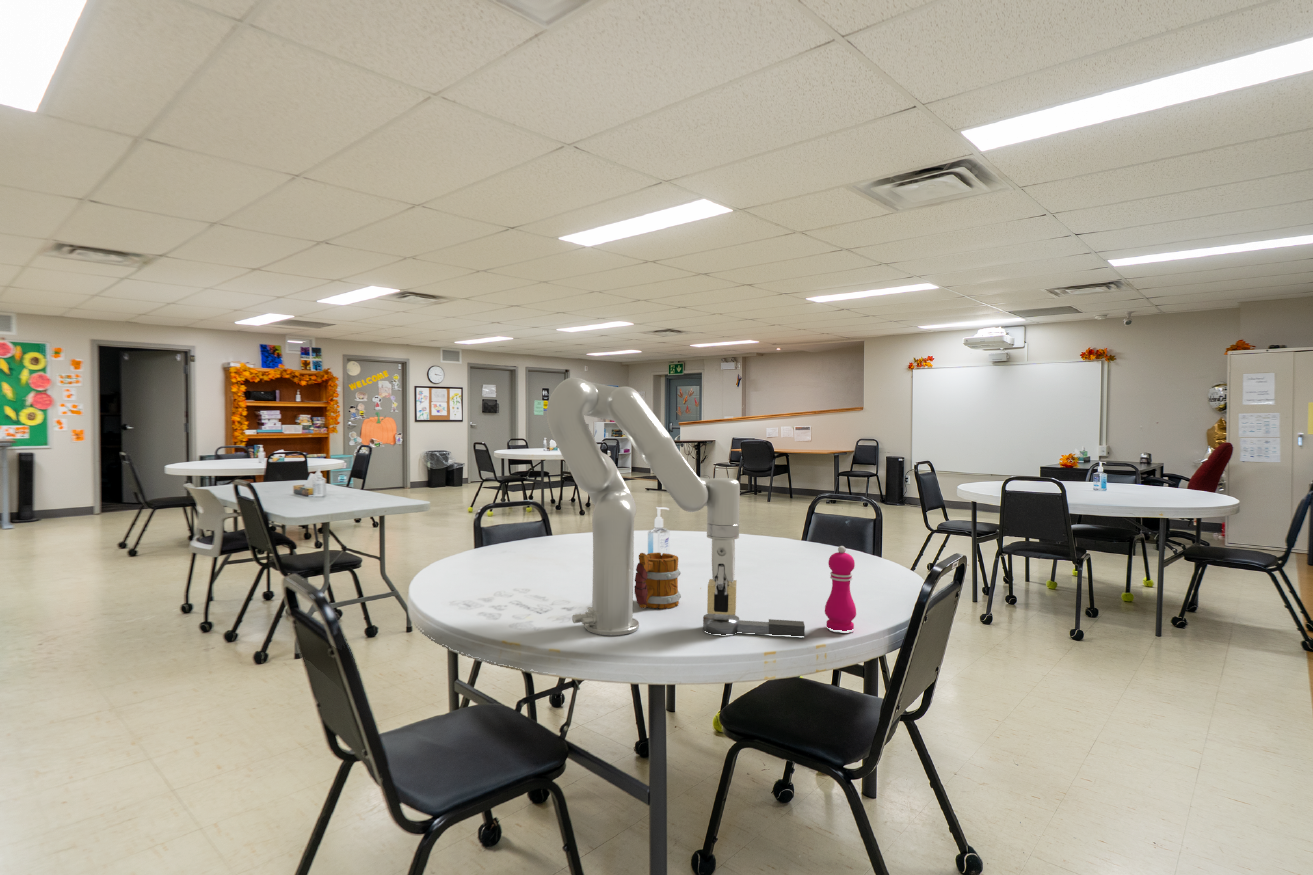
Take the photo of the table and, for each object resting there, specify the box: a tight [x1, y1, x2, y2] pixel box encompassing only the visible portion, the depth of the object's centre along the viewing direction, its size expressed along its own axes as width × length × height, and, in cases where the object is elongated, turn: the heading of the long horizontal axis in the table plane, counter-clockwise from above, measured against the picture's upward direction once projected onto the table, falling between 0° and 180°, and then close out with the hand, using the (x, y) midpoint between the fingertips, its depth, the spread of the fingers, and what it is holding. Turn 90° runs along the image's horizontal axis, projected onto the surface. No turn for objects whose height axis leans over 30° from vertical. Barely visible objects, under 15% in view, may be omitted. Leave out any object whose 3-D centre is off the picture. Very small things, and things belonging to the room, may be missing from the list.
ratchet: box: [702, 613, 806, 637], centre depth 150 cm, size 23×8×8 cm, turn 81°
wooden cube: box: [706, 578, 737, 615], centre depth 151 cm, size 6×6×6 cm
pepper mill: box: [824, 545, 857, 631], centre depth 154 cm, size 7×7×20 cm
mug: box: [633, 552, 682, 610], centre depth 171 cm, size 11×16×15 cm, turn 146°
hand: (721, 606), depth 151 cm, fingers closed on wooden cube, 6 cm apart
